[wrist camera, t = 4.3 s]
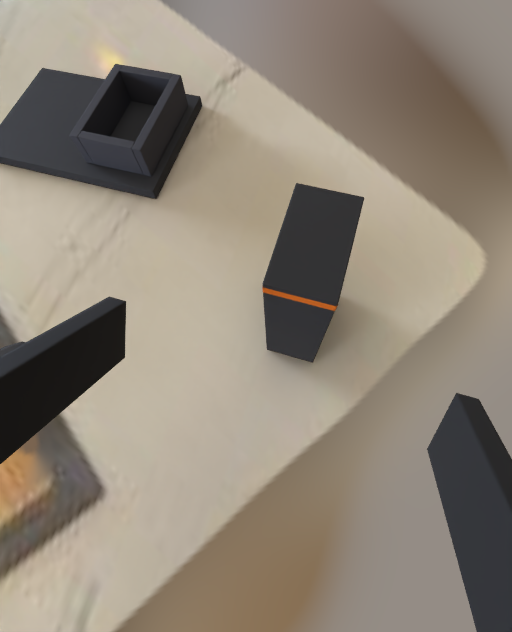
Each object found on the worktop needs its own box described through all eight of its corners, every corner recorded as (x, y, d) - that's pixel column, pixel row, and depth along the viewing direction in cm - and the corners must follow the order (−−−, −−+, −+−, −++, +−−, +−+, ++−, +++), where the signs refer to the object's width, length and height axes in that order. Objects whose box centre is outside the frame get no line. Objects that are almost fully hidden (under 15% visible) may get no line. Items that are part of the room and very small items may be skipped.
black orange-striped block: (331, 290, 28) (364, 196, 18) (312, 362, 26) (338, 304, 16) (287, 279, 28) (295, 182, 18) (266, 349, 26) (261, 284, 16)
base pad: (202, 105, 36) (194, 65, 32) (156, 199, 32) (140, 165, 28) (47, 77, 39) (23, 36, 35) (-13, 160, 35) (-47, 124, 31)
